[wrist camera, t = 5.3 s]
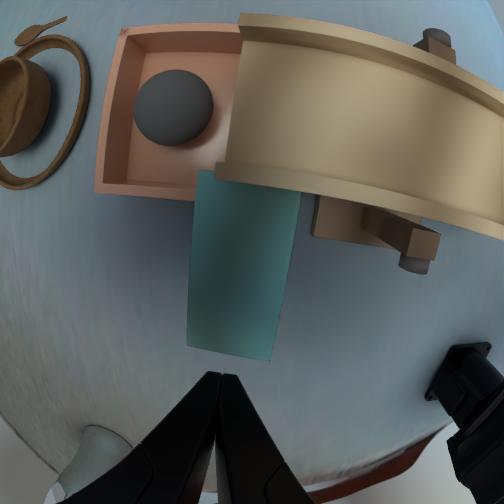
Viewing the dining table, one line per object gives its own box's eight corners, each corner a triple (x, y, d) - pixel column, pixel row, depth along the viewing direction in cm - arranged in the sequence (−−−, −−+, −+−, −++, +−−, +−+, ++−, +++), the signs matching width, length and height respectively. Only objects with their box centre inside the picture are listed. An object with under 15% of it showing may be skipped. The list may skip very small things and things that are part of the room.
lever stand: (430, 80, 14) (493, 57, 7) (408, 248, 17) (468, 288, 11) (335, 46, 13) (375, -6, 7) (310, 233, 17) (344, 274, 10)
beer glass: (71, 422, 23) (23, 515, 9) (109, 420, 22) (60, 535, 8) (108, 457, 25) (75, 546, 11) (148, 457, 24) (119, 563, 10)
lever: (541, 140, 8) (576, 141, 5) (483, 363, 12) (505, 393, 9) (225, 36, 10) (206, 0, 6) (191, 336, 14) (169, 376, 11)
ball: (185, 52, 9) (125, 68, 11) (170, 142, 10) (112, 143, 12) (233, 78, 13) (175, 84, 14) (223, 151, 14) (165, 147, 15)
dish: (286, 56, 14) (294, 31, 10) (266, 201, 16) (269, 210, 13) (143, 49, 13) (121, 29, 10) (122, 186, 16) (94, 193, 13)
